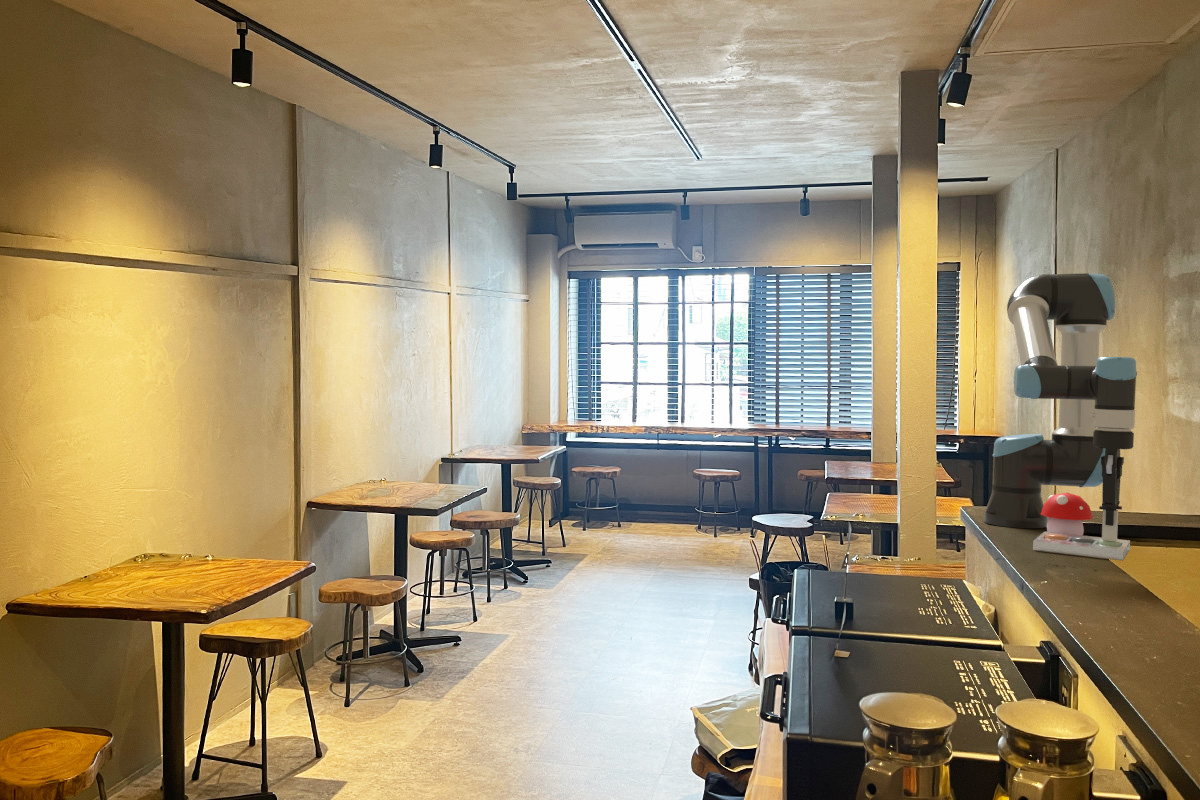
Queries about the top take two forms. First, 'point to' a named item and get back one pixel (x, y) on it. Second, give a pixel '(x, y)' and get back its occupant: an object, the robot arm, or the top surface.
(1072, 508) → the mushroom
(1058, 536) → the button terracotta
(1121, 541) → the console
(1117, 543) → the button sage
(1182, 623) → the top surface
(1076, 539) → the button charcoal
